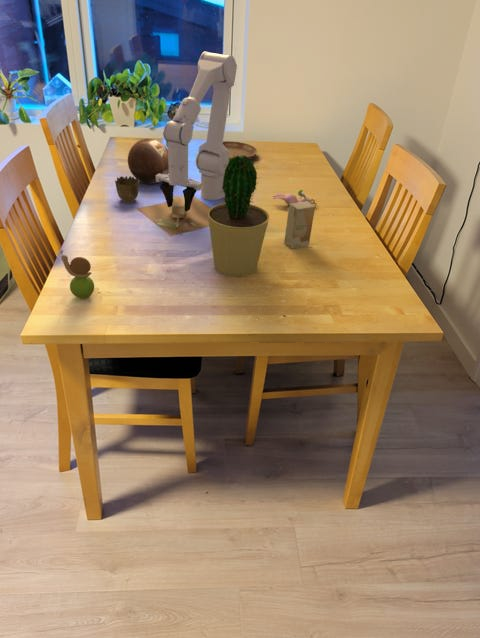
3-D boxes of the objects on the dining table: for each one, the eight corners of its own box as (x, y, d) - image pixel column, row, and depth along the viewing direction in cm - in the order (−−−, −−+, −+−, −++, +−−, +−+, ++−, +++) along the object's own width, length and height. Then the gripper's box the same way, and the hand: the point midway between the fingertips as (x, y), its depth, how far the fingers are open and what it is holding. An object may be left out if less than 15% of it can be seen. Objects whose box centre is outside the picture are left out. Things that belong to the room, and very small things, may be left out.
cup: (135, 209, 164) (133, 185, 159) (113, 206, 165) (111, 182, 160) (143, 201, 170) (142, 177, 165) (122, 198, 171) (120, 174, 166)
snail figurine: (69, 290, 123) (62, 245, 116) (97, 290, 124) (91, 245, 117) (65, 302, 119) (57, 256, 112) (93, 302, 120) (87, 256, 113)
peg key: (186, 209, 163) (186, 196, 161) (184, 229, 151) (184, 215, 149) (172, 208, 163) (172, 196, 161) (169, 228, 151) (168, 215, 149)
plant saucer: (256, 166, 205) (257, 158, 203) (204, 163, 204) (205, 155, 202) (256, 150, 222) (256, 142, 220) (208, 147, 221) (208, 140, 219)
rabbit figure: (311, 206, 178) (270, 198, 175) (316, 189, 175) (274, 181, 172) (315, 213, 173) (272, 205, 170) (321, 196, 170) (277, 188, 167)
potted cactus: (245, 287, 129) (253, 169, 112) (195, 268, 135) (195, 154, 118) (274, 263, 140) (286, 152, 123) (227, 247, 146) (232, 139, 129)
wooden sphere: (160, 193, 176) (159, 148, 168) (121, 185, 180) (117, 142, 171) (178, 179, 188) (178, 137, 179) (141, 172, 191) (139, 131, 183)
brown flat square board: (194, 200, 173) (194, 196, 172) (231, 224, 158) (231, 220, 158) (136, 211, 162) (136, 208, 162) (170, 239, 148) (170, 235, 147)
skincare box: (291, 249, 147) (296, 209, 140) (283, 243, 150) (288, 203, 143) (310, 245, 150) (316, 206, 143) (301, 239, 153) (307, 200, 146)
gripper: (149, 163, 150) (151, 207, 158) (194, 172, 146) (193, 217, 154) (161, 157, 155) (163, 199, 163) (205, 165, 151) (204, 209, 159)
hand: (178, 208), depth 159 cm, fingers closed on peg key, 5 cm apart
